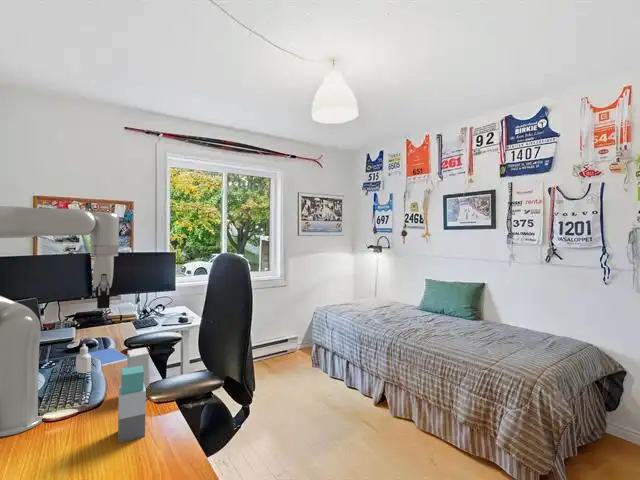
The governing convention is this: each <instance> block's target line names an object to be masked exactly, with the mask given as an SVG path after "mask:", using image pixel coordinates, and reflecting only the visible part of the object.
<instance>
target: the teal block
mask: <svg viewBox="0 0 640 480" xmlns="http://www.w3.org/2000/svg"><path fill="white" fill-rule="evenodd" d="M120 374H121V377H120V378H121V380H120V387H121V393H122V395H123V394H128V393H134V392H139V391H143V387H144V370H143V366H136V367H129V368H127V367H124V368H121V373H120Z"/></svg>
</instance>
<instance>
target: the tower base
mask: <svg viewBox="0 0 640 480" xmlns="http://www.w3.org/2000/svg"><path fill="white" fill-rule="evenodd" d="M117 418H118V423H117V426H118V427H117V436H118V439H117V440H118V444H120V443H123V442H124V443H125V442H128V441H131V440H136V439H139V438H140V439H141V438H144V437H146V413H145V414H142V415H137V416H133V417H128V418H124V419H119V408H118V416H117Z"/></svg>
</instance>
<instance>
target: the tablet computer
mask: <svg viewBox="0 0 640 480" xmlns="http://www.w3.org/2000/svg"><path fill="white" fill-rule="evenodd" d="M88 354H90V355H91V357H93V358H97V359H99V360H100V361H101V364H102V367H105V366H106V367H107V366H110V365H114V364H117V363H122V362H123V363H124V362H126V361H127V355H125V354H124V353H122V352H121V351H118V350H117V349H116V348H111V347H110V348H104V349H100V350H95V351H91V352H88Z"/></svg>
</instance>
